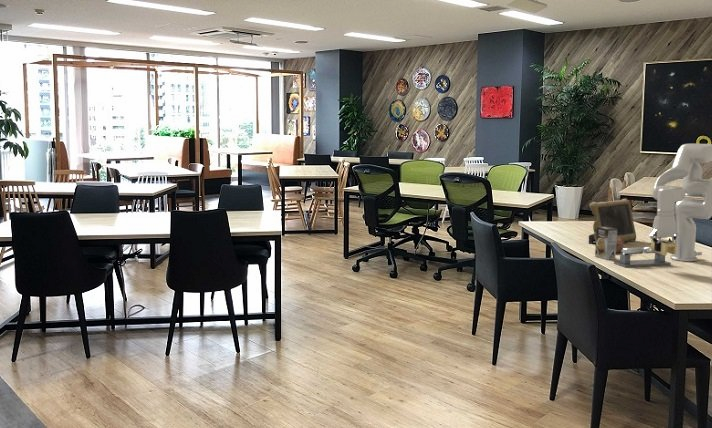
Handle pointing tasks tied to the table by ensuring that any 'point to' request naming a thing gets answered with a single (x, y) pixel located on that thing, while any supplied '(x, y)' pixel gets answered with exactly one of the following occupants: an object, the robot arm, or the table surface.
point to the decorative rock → (619, 244)
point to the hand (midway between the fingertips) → (663, 250)
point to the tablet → (614, 218)
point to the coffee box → (606, 243)
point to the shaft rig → (627, 262)
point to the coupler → (665, 247)
